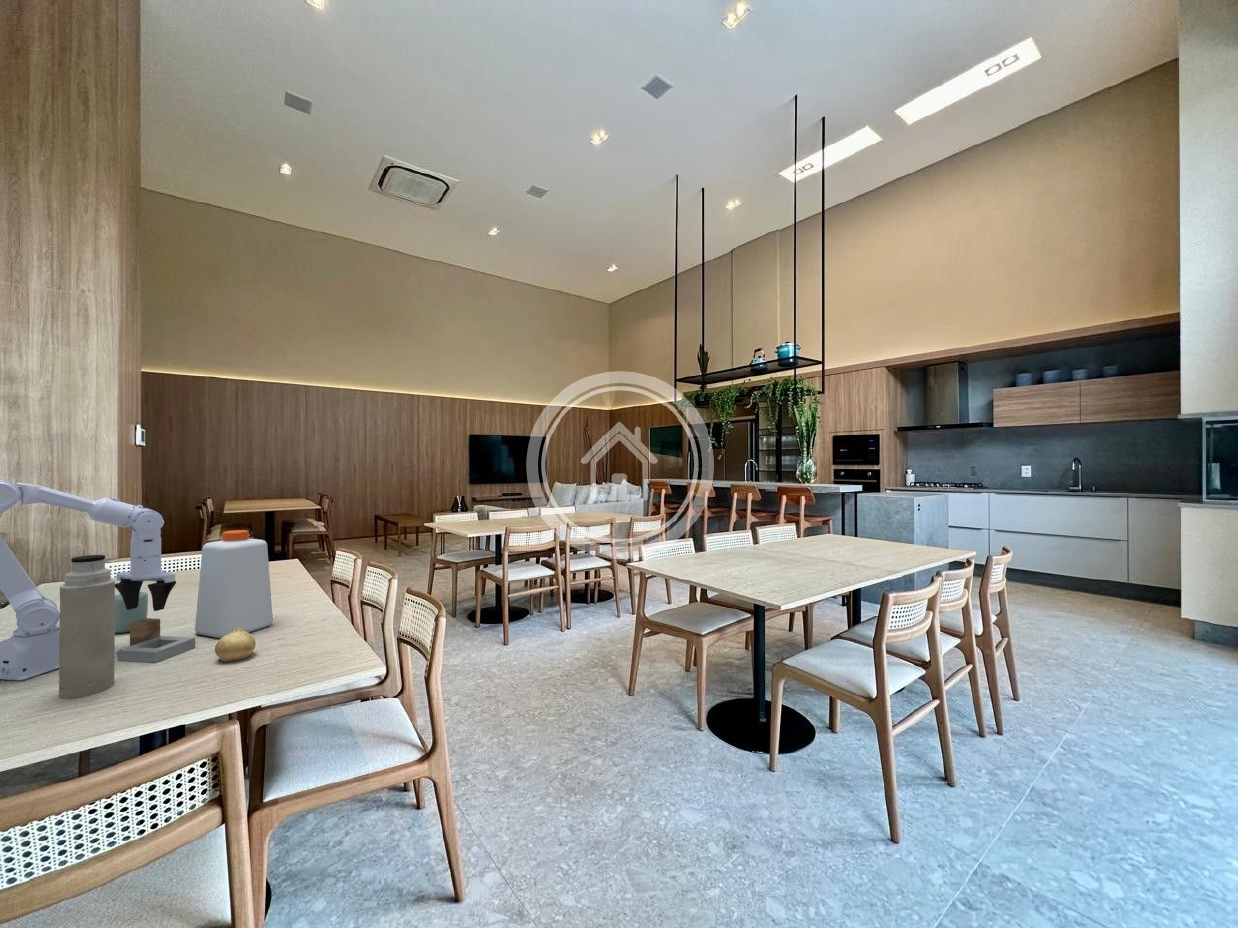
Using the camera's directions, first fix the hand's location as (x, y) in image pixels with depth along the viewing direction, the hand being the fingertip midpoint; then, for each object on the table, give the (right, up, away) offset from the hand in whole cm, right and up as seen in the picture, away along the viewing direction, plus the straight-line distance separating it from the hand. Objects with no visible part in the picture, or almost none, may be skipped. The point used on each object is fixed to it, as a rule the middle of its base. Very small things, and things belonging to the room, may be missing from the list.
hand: (145, 609), depth 128 cm
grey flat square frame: (+7, -10, -4) cm, 13 cm away
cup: (-17, -10, +13) cm, 23 cm away
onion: (+28, -11, -6) cm, 30 cm away
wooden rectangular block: (0, -10, 0) cm, 10 cm away
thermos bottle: (+10, -10, -23) cm, 27 cm away
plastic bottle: (+12, -10, +15) cm, 21 cm away
